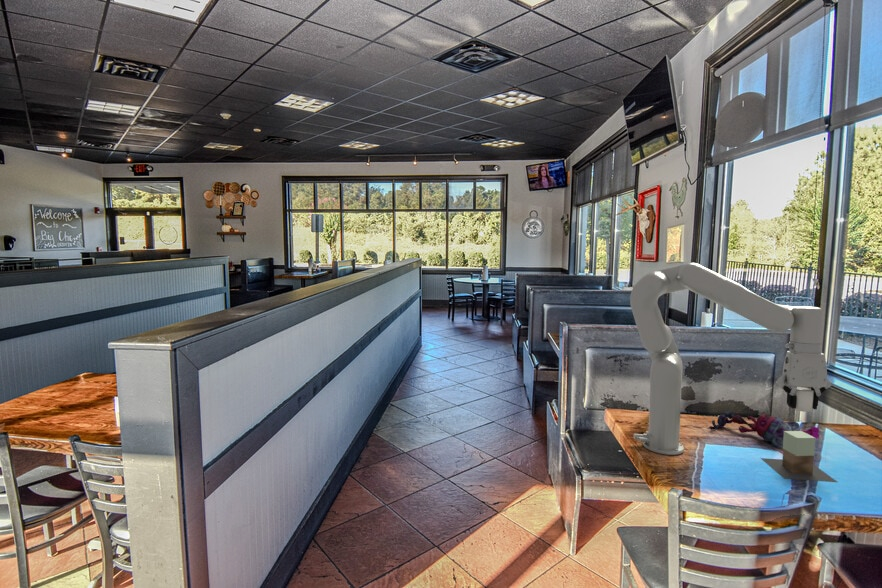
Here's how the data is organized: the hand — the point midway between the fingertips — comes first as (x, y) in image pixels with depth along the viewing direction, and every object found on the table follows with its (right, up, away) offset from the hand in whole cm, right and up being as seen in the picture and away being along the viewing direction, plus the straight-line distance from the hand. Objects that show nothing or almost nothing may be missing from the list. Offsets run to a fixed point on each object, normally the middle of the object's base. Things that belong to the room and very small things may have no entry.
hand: (802, 407), depth 144 cm
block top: (0, -14, +1) cm, 14 cm away
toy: (+6, -18, +26) cm, 32 cm away
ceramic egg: (0, -1, 0) cm, 1 cm away
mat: (0, -20, +2) cm, 20 cm away
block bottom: (0, -19, +2) cm, 20 cm away
